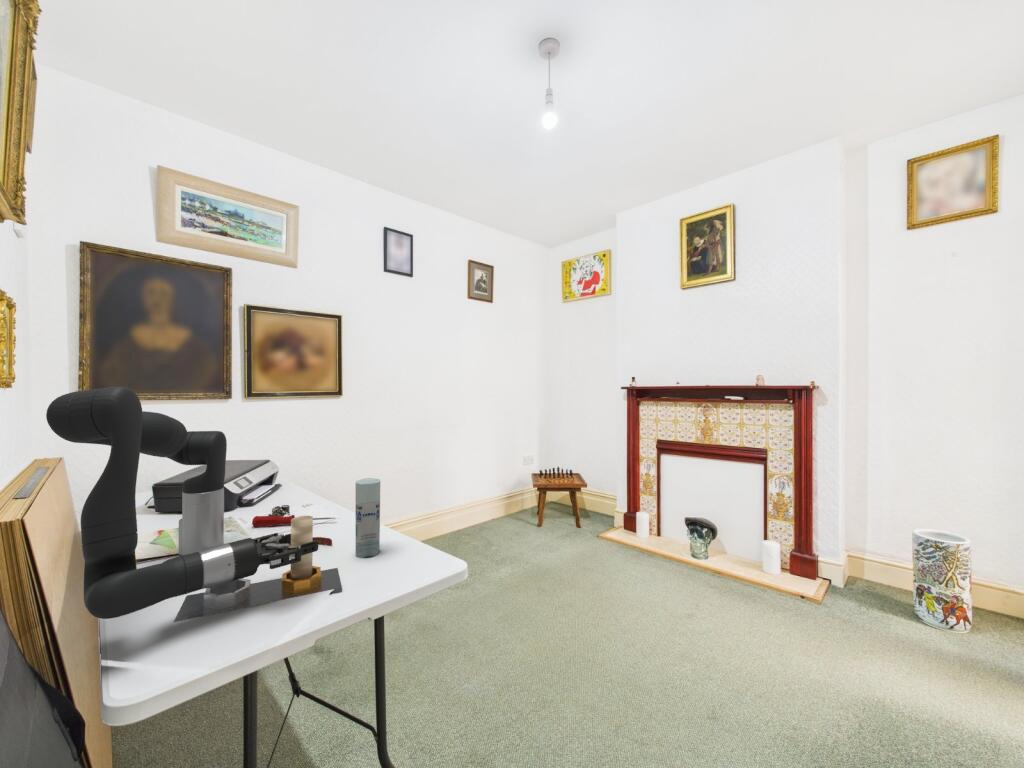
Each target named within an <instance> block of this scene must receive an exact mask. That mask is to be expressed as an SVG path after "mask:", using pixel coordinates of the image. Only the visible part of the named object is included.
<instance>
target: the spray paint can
mask: <svg viewBox="0 0 1024 768" xmlns="http://www.w3.org/2000/svg"><path fill="white" fill-rule="evenodd" d="M380 528H381V479H379V478H375V477H374V478H373V477H372V478H362V479H358V480H356V481H355V556H356V557H357V558H360V559H367V558H369V559H370V558H373V557H376V556H378V555H379V553H380V537H381V536H380V534H381V533H380V532H381V529H380Z"/></svg>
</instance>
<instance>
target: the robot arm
mask: <svg viewBox="0 0 1024 768" xmlns="http://www.w3.org/2000/svg"><path fill="white" fill-rule="evenodd" d="M45 415H46V416H45V417H46V421H47V423H48V426H49V428H50V429H51V430H52V431H53V433H55V434H56V435H57V436H58V437H59V438H62V439H63V440H65V441H67V442H71V443H76V444H88V445H89V444H91V445H103V446H110V453H109V456H108V460H107V462H106V465H105V467H104V469H103V472H102V473H101V475H100V477H99V478H98V480H97V481H96V483H95V484H94V486H93V487H92V489H91V491H90V493H89V495H88V496H87V497H86V500H85V501H84V504H83V506H82V510H81V513H80V534H81V535H80V537H81V544H82V545H81V548H82V550H81V551H82V555H83V559H84V568H83V569H84V570H83V603H84V606H85V608H86V610H87V612H89V614H91V615H92V616H93V617H95V618H98V619H102V620H103V619H104V620H105V619H106V620H108V619H109V620H110V619H115V618H120V617H123V616H126V615H129V614H132V613H136V612H138V611H141V610H143V609H145V608H148V607H151V606H153V605H156V604H159V603H161V602H163V601H165V600H168V599H172V598H177V597H181V596H184V595H187V594H190V593H194V592H197V591H201V590H206V588H210V587H215V586H219V585H222V584H225V583H229V582H232V581H235V580H238V579H242V578H243V579H246V578H247V577H252V576H254V575H255V574H256V573H257V572H258V569H259V567H260V566H261V565H269V569H270V570H274V569H277V568H281V567H285V566H288V565H291V564H292V563H296V562H299V561H301V556H302V555H305V554H309V553H312V554H313V553H315V552H317V551H318V550H319V545H318V542H317V541H312V542H308V543H304V544H301V545H293V546H291V545H290V544H291V533H287V534H283V533H281V534H279V533H278V532H275V533H271V534H267V535H263V536H259V537H255V538H251V537H248V538H247V537H246V538H243V539H240V540H235V541H231V542H227V543H224V542H225V540H224V539H225V538H224V532H225V530H224V529H225V528H224V527H225V477H226V464H227V463H226V462H227V460H226V459H227V449H228V448H227V443H228V442H227V437H226V434H225V433H224V432H222V431H220V430H195V431H193V430H192V431H188V429H187V428H186V426H185V424H184V423H182V422H181V421H180V420H178V419H176V418H174V417H171V416H170V415H166V414H163V413H160V412H154V411H153V412H152V411H143V407H142V402H141V400H140V398H139V396H138V395H137V393H136V392H135V391H134V390H133V389H131V388H129V387H127V386H111V387H110V386H109V387H103V388H102V387H101V388H94V389H85V390H77V391H72V392H69V393H64V394H62V395H60V396H57V397H56V398H55V399H54V400H52V402H50V403H49V405H48V407H47V408H46V414H45ZM140 454H143V455H147V456H152V457H158V458H167V459H170V460H171V461H173V462H175V463H178V464H180V465H184V466H206V468H205V471H204V472H203V473H200V474H199V475H195V476H192V477H190V478H187V479H185V480H184V481H183V482H182V489H181V490H182V491H181V492H182V493H181V494H182V495H181V496H182V497H181V498H182V500H181V502H182V504H181V505H182V509H181V510H182V511H181V514H182V515H181V517H182V518H180V519H179V520H178V556H175V557H172V558H169V559H167V560H165V561H163V562H161V563H158V564H153V565H149V566H145V567H141V568H137V557H136V549H137V546H138V543H139V541H138V540H139V536H138V535H139V534H138V520H137V519H138V518H137V508H136V492H137V491H136V489H137V479H138V473H139V472H138V470H139V464H140V463H139V462H140V456H141V455H140ZM291 554H293V555H291Z"/></svg>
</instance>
